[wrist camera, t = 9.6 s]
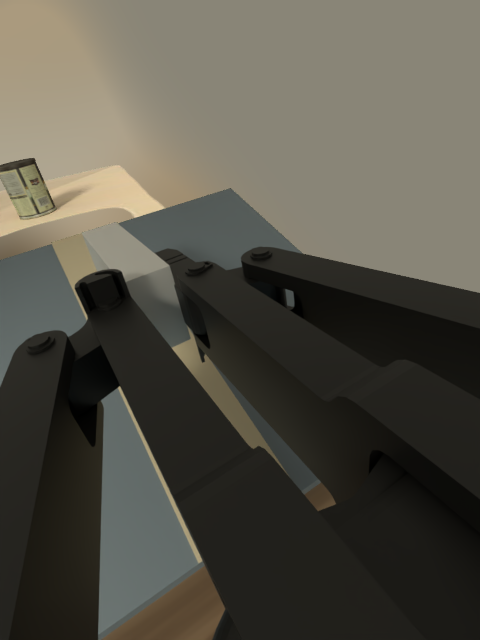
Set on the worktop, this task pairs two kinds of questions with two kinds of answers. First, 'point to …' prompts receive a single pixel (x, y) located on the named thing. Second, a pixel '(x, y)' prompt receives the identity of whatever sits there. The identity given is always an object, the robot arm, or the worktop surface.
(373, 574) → the robot arm
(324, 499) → the walnut box
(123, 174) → the worktop surface
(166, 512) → the lid
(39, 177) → the coffee can
